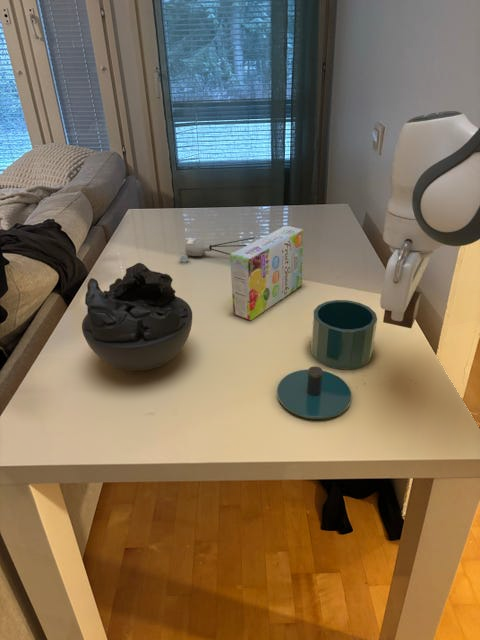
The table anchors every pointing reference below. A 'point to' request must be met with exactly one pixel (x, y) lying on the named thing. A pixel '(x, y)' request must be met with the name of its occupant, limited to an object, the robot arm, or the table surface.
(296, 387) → the lid
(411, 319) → the block
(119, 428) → the table surface
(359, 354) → the pot
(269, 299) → the snack box
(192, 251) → the reed diffuser
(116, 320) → the bowl of black rocks
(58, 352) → the table surface
